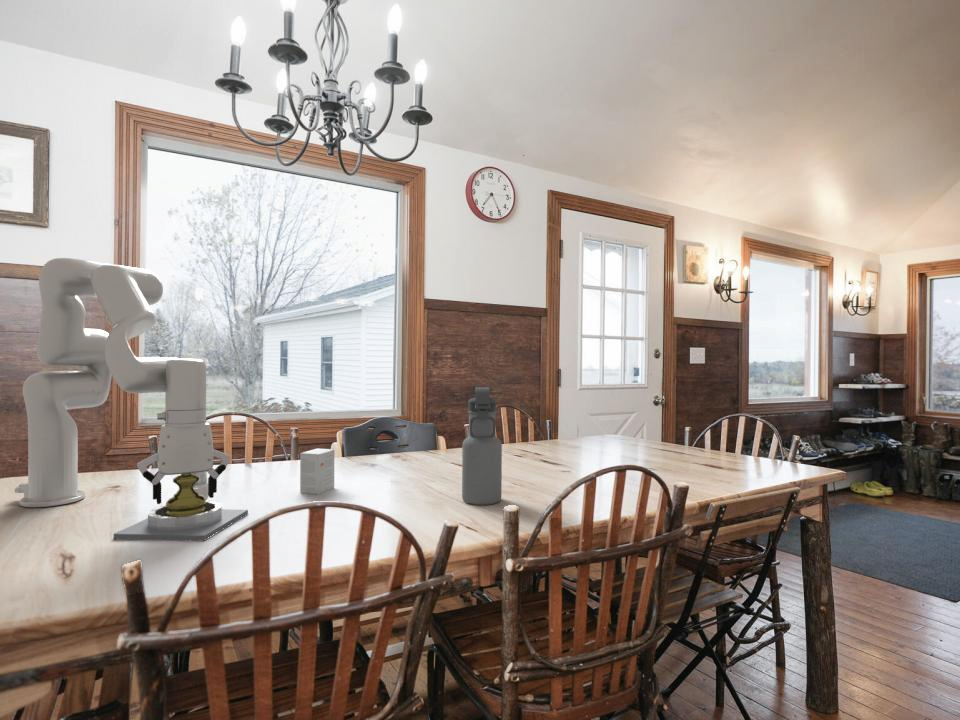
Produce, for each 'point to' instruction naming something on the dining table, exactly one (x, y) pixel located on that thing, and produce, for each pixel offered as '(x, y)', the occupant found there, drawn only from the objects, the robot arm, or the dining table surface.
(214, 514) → the steel ring
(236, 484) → the dining table surface
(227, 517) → the seat board
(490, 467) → the water bottle
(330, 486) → the small box
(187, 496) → the olive turned piece
